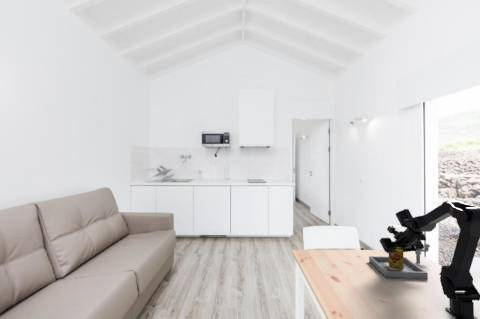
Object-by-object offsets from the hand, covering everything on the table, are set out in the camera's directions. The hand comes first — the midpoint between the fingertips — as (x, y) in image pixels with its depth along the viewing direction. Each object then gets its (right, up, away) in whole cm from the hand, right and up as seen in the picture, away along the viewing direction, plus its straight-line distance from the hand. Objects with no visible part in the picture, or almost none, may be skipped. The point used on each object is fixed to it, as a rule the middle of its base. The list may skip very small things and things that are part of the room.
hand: (392, 252), depth 121 cm
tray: (+1, -9, 0) cm, 9 cm away
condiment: (0, -7, -1) cm, 7 cm away
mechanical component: (+18, -9, +8) cm, 22 cm away
